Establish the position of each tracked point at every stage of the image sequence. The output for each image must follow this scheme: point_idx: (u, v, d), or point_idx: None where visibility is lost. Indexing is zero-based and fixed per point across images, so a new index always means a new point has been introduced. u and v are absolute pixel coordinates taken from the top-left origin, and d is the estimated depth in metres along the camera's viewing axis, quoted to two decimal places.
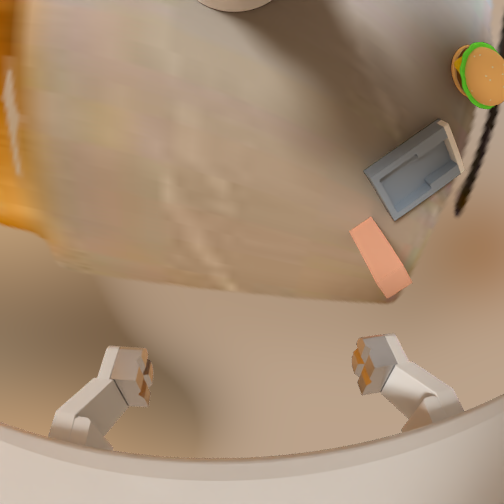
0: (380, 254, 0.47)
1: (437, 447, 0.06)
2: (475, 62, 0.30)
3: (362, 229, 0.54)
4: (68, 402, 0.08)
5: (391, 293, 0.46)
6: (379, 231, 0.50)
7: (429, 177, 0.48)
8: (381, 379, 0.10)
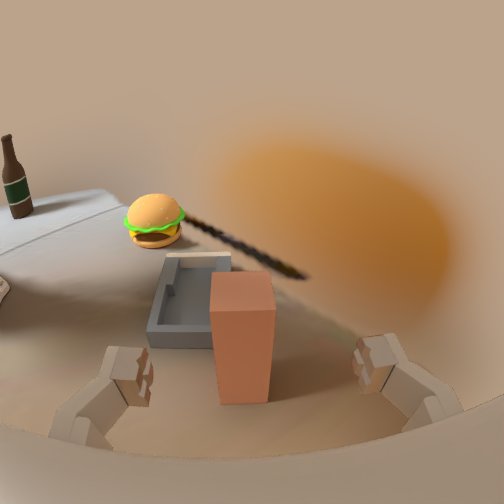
0: None
1: (437, 447, 0.06)
2: (129, 214, 0.55)
3: None
4: (68, 402, 0.08)
5: (266, 300, 0.24)
6: None
7: None
8: (381, 379, 0.10)
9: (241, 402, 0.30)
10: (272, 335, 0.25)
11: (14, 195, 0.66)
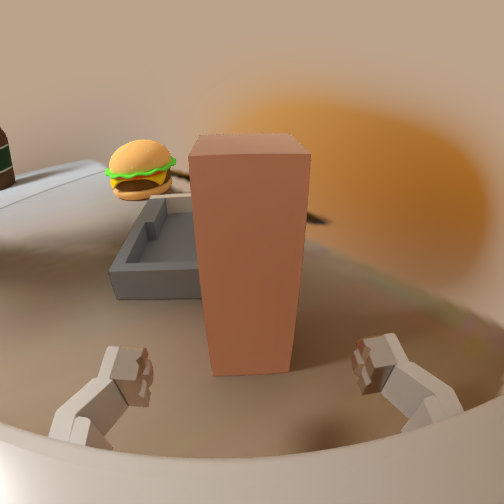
0: None
1: (437, 447, 0.06)
2: (111, 160, 0.44)
3: None
4: (68, 402, 0.08)
5: (290, 148, 0.13)
6: None
7: None
8: (381, 379, 0.10)
9: (247, 372, 0.19)
10: (303, 217, 0.14)
11: None
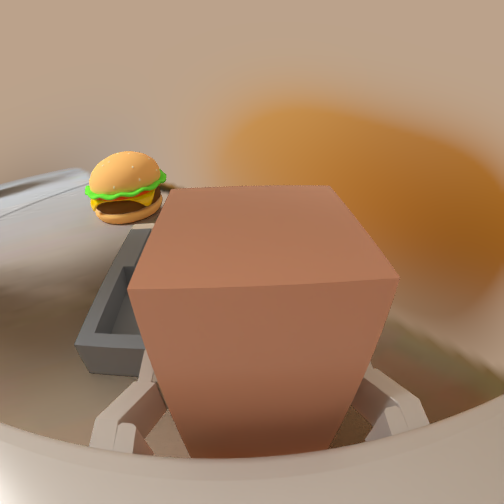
0: None
1: (437, 447, 0.06)
2: (91, 177, 0.37)
3: None
4: (108, 408, 0.08)
5: (351, 250, 0.06)
6: None
7: None
8: None
9: None
10: (360, 372, 0.07)
11: None
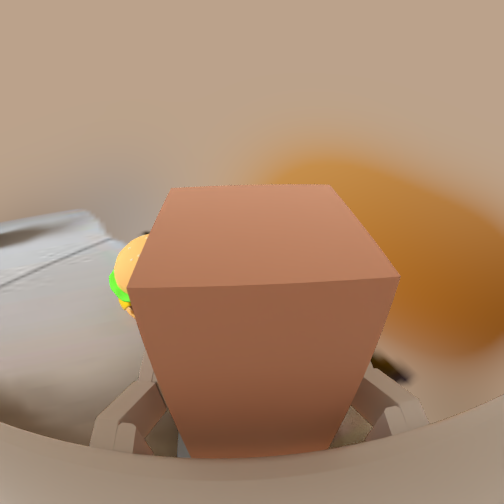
0: None
1: (437, 447, 0.06)
2: (117, 271, 0.33)
3: None
4: (108, 408, 0.08)
5: (351, 249, 0.06)
6: None
7: None
8: None
9: None
10: (360, 372, 0.07)
11: None
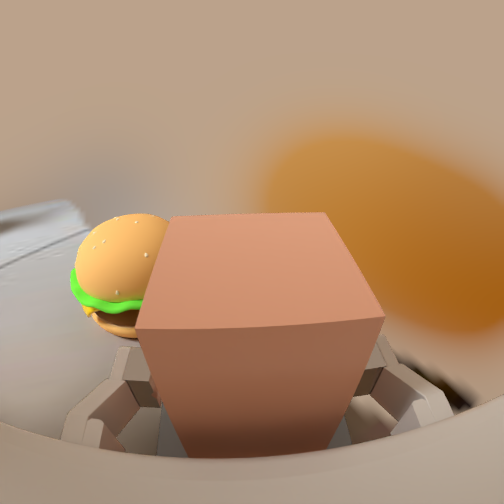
0: None
1: (437, 447, 0.06)
2: (77, 264, 0.23)
3: None
4: (80, 404, 0.08)
5: (341, 287, 0.07)
6: None
7: None
8: (370, 381, 0.10)
9: None
10: (349, 394, 0.07)
11: None
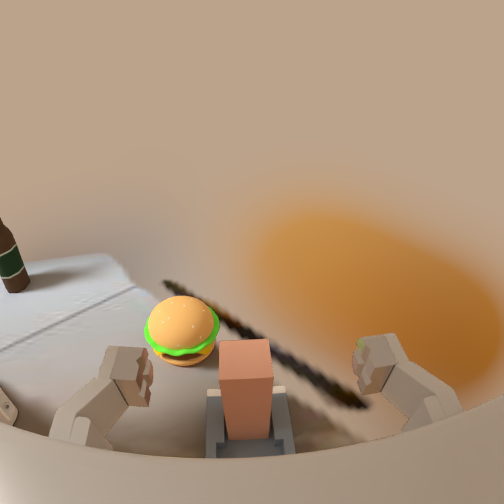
0: None
1: (437, 447, 0.06)
2: (151, 329, 0.44)
3: None
4: (68, 402, 0.08)
5: (265, 368, 0.28)
6: None
7: (273, 438, 0.34)
8: (381, 379, 0.10)
9: (246, 438, 0.34)
10: (270, 393, 0.29)
11: (6, 269, 0.55)
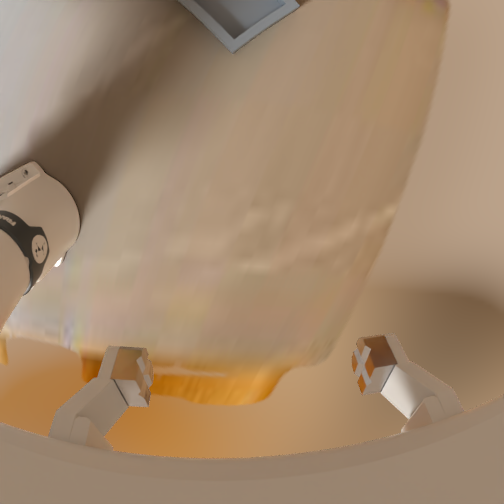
0: None
1: (437, 447, 0.06)
2: None
3: None
4: (68, 401, 0.08)
5: None
6: None
7: None
8: (381, 379, 0.10)
9: None
10: None
11: None
